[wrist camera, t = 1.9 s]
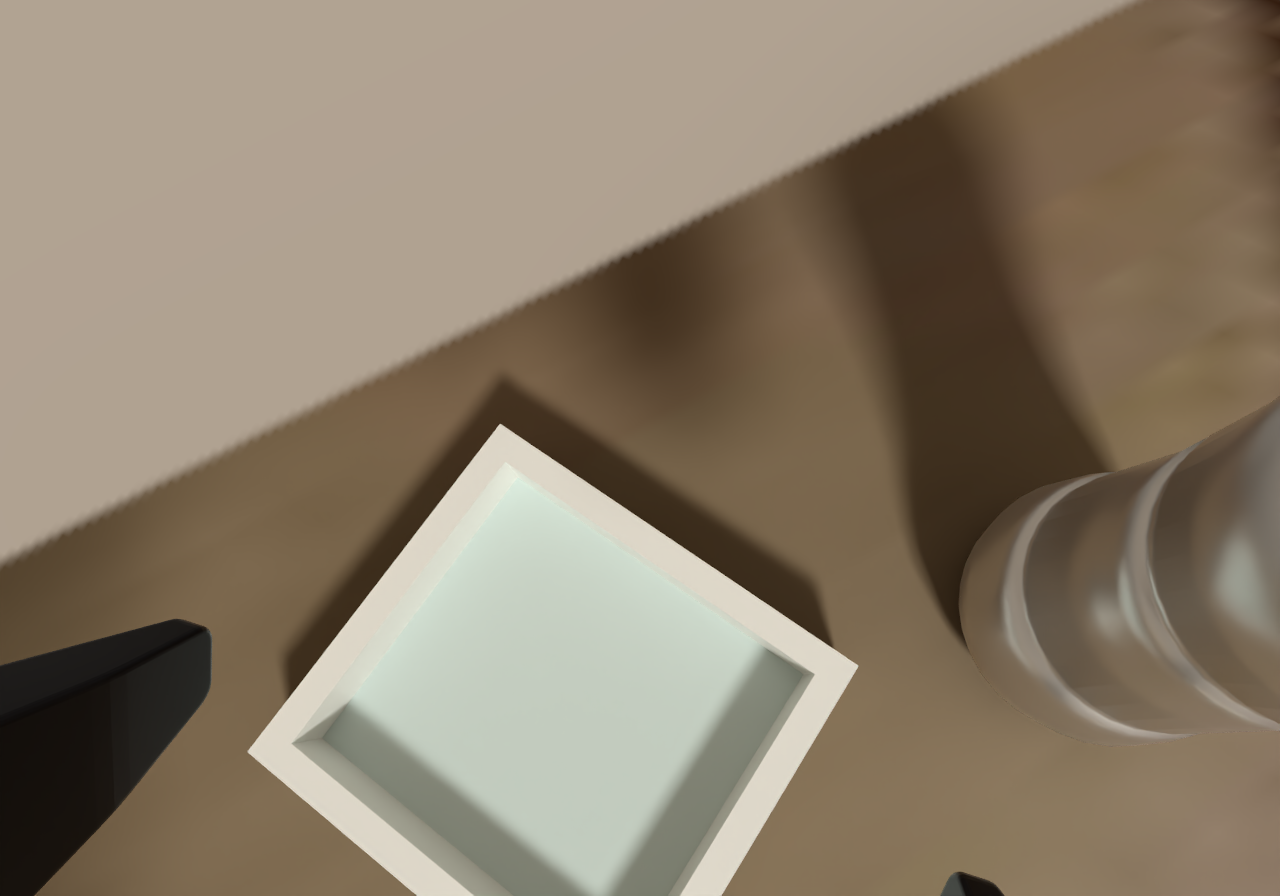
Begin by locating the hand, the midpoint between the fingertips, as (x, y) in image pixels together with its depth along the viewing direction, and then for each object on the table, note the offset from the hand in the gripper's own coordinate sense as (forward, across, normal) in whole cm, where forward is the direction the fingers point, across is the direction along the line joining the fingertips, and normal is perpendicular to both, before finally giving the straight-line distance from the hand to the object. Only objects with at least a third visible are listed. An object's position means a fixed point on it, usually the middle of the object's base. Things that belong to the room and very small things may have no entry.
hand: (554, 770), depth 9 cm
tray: (+11, +2, +8) cm, 14 cm away
